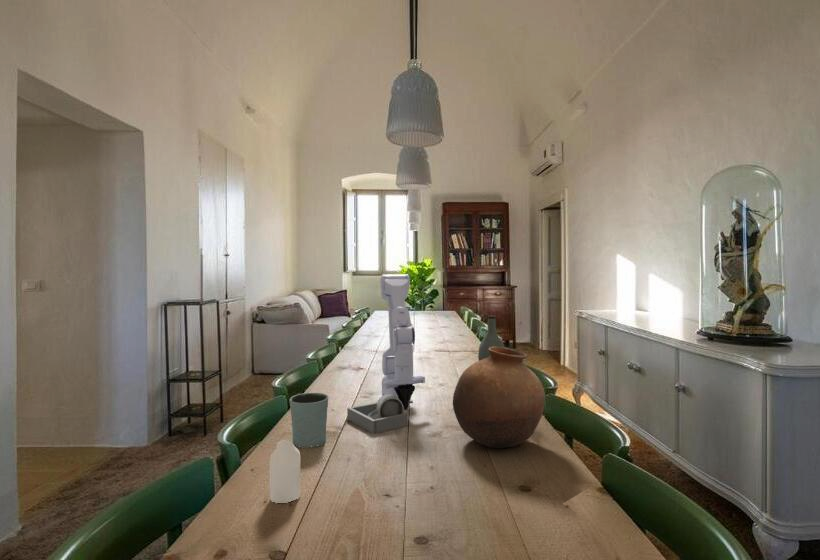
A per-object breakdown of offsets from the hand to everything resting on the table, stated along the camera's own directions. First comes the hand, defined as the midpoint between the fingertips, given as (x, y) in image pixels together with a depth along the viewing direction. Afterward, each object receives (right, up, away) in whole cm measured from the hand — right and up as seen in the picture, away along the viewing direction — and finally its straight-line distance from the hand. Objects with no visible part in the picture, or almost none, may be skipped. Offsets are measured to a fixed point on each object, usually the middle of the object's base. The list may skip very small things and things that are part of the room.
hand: (404, 408), depth 149 cm
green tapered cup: (-25, -3, -21) cm, 33 cm away
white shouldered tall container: (-23, -4, -53) cm, 58 cm away
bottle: (+29, -2, +11) cm, 31 cm away
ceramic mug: (-6, -3, -4) cm, 7 cm away
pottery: (+25, -3, -24) cm, 35 cm away
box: (-8, -3, -5) cm, 10 cm away
